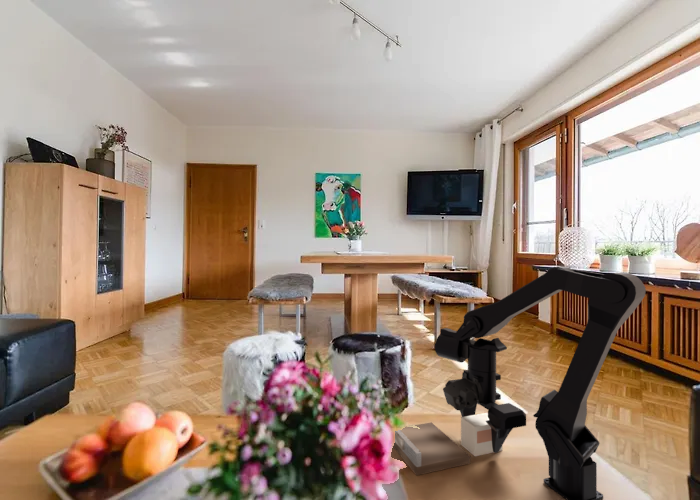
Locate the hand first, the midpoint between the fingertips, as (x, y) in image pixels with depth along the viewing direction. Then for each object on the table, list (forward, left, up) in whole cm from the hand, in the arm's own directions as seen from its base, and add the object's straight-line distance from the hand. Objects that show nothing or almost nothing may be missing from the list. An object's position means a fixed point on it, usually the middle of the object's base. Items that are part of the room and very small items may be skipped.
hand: (481, 441), depth 72 cm
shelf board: (+3, +12, -1) cm, 12 cm away
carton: (0, 0, -1) cm, 1 cm away
